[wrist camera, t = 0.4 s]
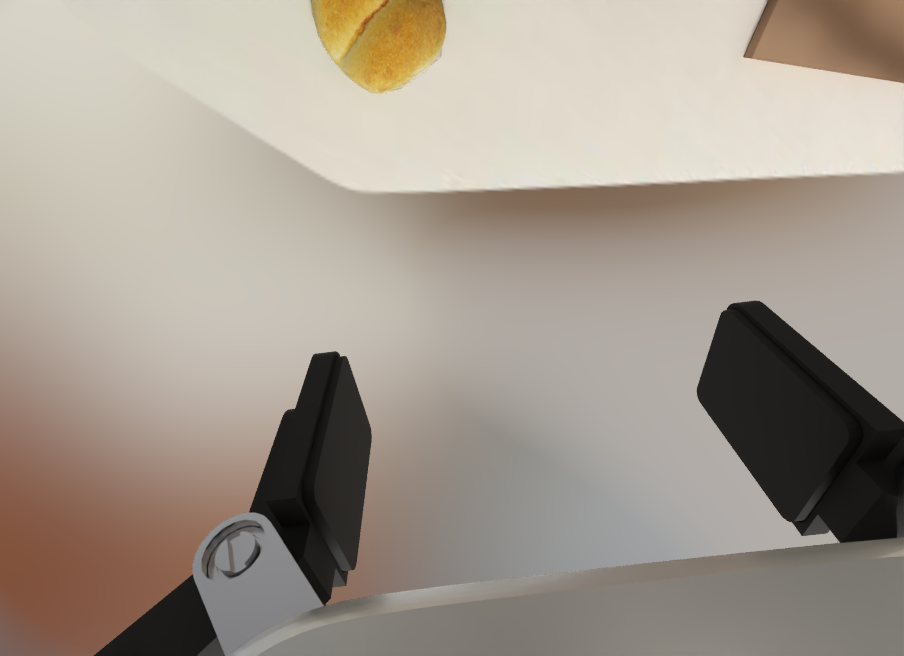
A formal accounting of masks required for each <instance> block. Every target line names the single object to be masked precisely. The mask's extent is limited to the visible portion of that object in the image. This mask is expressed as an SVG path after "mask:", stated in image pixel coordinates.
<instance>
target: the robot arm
mask: <svg viewBox="0 0 904 656" xmlns="http://www.w3.org/2000/svg"><path fill="white" fill-rule="evenodd" d="M697 396H698V399H699V401H700V403H701V404H702V406H703V407H704V408H705V410H706V411H707V413H708V414H709V416H710V417H711V418H712V420H713V421H714V423H715V424H716V425H717V427H718V428H719V429H720V431H721V432H722V434H723V435H724V436H725V438H726V439H727V441H728V442H729V443H730V445H731V446H732V448H733V449H734V450H735V452H736V453H737V455H738V456H739V457H740V459H741V460H742V462H743V463H744V464H745V466H746V467H747V468H748V470H749V471H750V473H751V474H752V476H753V477H754V478H755V479H756V481H757V482H758V484H759V485H760V487H761V488H762V489H763V491H764V492H765V494H766V495H767V496H768V498H769V499H770V501H771V502H772V503H773V505H774V506H775V508H776V509H777V510H778V512H779V513H780V514H781V516H782V517H783V518H784V519H786V520H787V521H789V522H792V523H793V524H794V525H795V527H796V528H797V530H798V531H799V532H800V534H801V535H802V536H807V535H816V534H825V533H828V532H829V530H831V532H832V533H833V534H834V535H835V537H836V538H837V539H838V543H835V544H824V545H814V546H805V547H795V548H785V549H776V550H766V551H757V552H747V553H737V554H727V555H718V556H709V557H700V558H690V559H680V560H671V561H662V562H653V563H643V564H634V565H625V566H616V567H607V568H598V569H589V570H579V571H571V572H561V573H553V574H544V575H535V576H527V577H517V578H509V579H501V580H491V581H482V582H474V583H465V584H456V585H448V586H441V587H434V588H425V589H418V590H410V591H402V592H395V593H388V594H380V595H374V596H369V597H363V598H358V599H353V600H347V601H341V602H338V603H334V604H331V605H326V603H327V602H328V601H329V600H330V599H331V593H332V587H340V586H346V583H347V575H348V571H349V570H354V569H355V567H356V562H357V554H358V547H359V539H360V529H361V522H362V514H363V506H364V498H365V489H366V481H367V473H368V465H369V455H370V448H371V438H372V436H371V428H370V424H369V421H368V418H367V415H366V412H365V409H364V406H363V403H362V400H361V397H360V394H359V391H358V388H357V385H356V382H355V379H354V377H353V374H352V371H351V368H350V364H349V361H348V359H347V357H346V356H342V357H340V355H339V353H338V352H336V351H335V352H327V353H319V354H314V355H313V357H312V359H311V362H310V365H309V368H308V371H307V374H306V377H305V380H304V383H303V386H302V390H301V393H300V396H299V399H298V402H297V405H296V408H295V409H290V410H287V411H286V412H285V414H284V415H283V417H282V420H281V423H280V426H279V428H278V431H277V434H276V437H275V440H274V443H273V446H272V448H271V451H270V454H269V457H268V460H267V463H266V466H265V469H264V471H263V474H262V477H261V480H260V483H259V485H258V488H257V491H256V494H255V497H254V500H253V503H252V505H251V508H250V511H249V513H242V514H239V515H236V516H233V517H231V518H229V519H227V520H225V521H224V522H222V523H220V524H219V525H218V526H217V527H216V528H215V529H213V530H212V531H211V532H210V533H209V534H208V535H207V537H206V538H205V539H204V540H203V542H202V543H201V544H200V547H199V548H198V551H197V552H196V554H195V557H194V562H193V567H192V570H193V575H191V576H190V577H189V578H188V579H187V580H185V581H184V582H183V583H182V584H181V585H179V586H178V587H177V588H176V589H175V590H173V591H172V592H171V593H170V594H168V595H167V596H166V597H165V598H163V600H161V601H160V602H159V603H158V604H156V605H155V606H154V607H153V608H151V609H150V610H149V611H148V612H146V613H145V614H144V615H143V616H142V617H140V618H139V619H138V620H137V621H136V622H134V623H133V624H132V625H131V626H129V627H128V628H127V629H126V630H124V631H123V632H122V633H121V634H120V635H118V636H117V637H116V638H115V639H114V640H113V641H111V642H110V643H109V644H108V645H106V646H105V647H104V648H103V649H102V650H100V651H99V652H98V653H96V654H95V655H94V656H904V422H903V421H902V420H901V419H899V418H898V417H897V416H896V415H895V414H894V413H892V412H891V411H890V410H889V409H888V408H886V407H885V406H884V405H883V404H882V403H881V402H879V401H878V400H877V399H876V398H875V397H873V396H872V395H871V394H870V393H869V392H867V391H866V390H865V389H864V388H863V387H862V386H860V385H859V384H858V383H857V382H856V381H855V380H853V379H852V378H851V377H850V376H849V375H847V374H846V373H845V372H844V371H843V370H841V369H840V368H839V367H838V366H837V365H835V364H834V363H833V362H832V361H831V360H830V359H828V358H827V357H826V356H825V355H824V354H823V353H821V352H820V351H819V350H818V349H817V348H815V347H814V346H813V345H812V344H811V343H810V342H808V341H807V340H806V339H805V338H804V337H802V336H801V335H800V334H799V333H798V332H796V331H795V330H794V329H793V328H792V327H791V326H789V325H788V324H787V323H786V322H785V321H783V320H782V319H781V318H780V317H779V316H778V315H776V314H775V313H774V312H773V311H772V310H770V309H769V308H768V307H767V306H766V305H764V304H763V303H762V302H760V301H749V302H741V303H733V304H730V305H729V306H728V308H727V310H725V311H723V312H722V313H721V315H720V318H719V321H718V324H717V327H716V330H715V333H714V337H713V340H712V343H711V346H710V350H709V352H708V355H707V359H706V362H705V365H704V368H703V371H702V374H701V377H700V381H699V384H698V387H697Z"/></svg>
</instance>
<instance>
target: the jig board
mask: <svg viewBox="0 0 904 656" xmlns="http://www.w3.org/2000/svg"><path fill="white" fill-rule="evenodd" d="M744 57H746V58H752V59H758V60H764V61H770V62H777V63H783V64H789V65H795V66H802V67H808V68H814V69H820V70H826V71H833V72H839V73H845V74H851V75H858V76H864V77H870V78H876V79H882V80H889V81H895V82H901V83H904V0H769V1H768V4H767V6H766V8H765V10H764V13H763V15H762V17H761V19H760V22H759V24H758V26H757V28H756V30H755V33H754V35H753V37H752V39H751V42H750V44H749V46H748V48H747V51H746V53H745V55H744Z"/></svg>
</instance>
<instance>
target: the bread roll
mask: <svg viewBox="0 0 904 656" xmlns="http://www.w3.org/2000/svg"><path fill="white" fill-rule="evenodd" d="M311 4H312V12H313V17H314V21H315V24H316V28H317V33H318V36H319V38H320V40H321V42H322V44H323V46H324V48H325V50H326V51H327V53H328V54H329V56H330V57H331V58H332V60H333V61H334V62H335V63H336V64H337V65H338V66H339V68H340V69H341V70H342V71H343V72H344V73H345V74H346V75H347V76H348V77H349V79H351V80H352V81H354V82H355V83H356V84H358V85H359V86H361V87H362V88H364V89H366V90H367V91H369V92H371V93H376V94H386V93H389V92H397V91H399V90H400V89H402V88H403V87H404V86H406V85H407V84H408V83H410V82H411V81H412V80H414V79H415V78H416V77H417V76H418V75H420V74H422V73H423V72H424V71H425V70H426V69H427V68H429V66H430V65H432V64H433V63H434V62H435V61H437V60H438V59H439V58H440V57H441V52H442V46H443V42H444V39H445V34H446V19H445V14H444V9H443V5H442V2H441V0H311Z"/></svg>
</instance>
